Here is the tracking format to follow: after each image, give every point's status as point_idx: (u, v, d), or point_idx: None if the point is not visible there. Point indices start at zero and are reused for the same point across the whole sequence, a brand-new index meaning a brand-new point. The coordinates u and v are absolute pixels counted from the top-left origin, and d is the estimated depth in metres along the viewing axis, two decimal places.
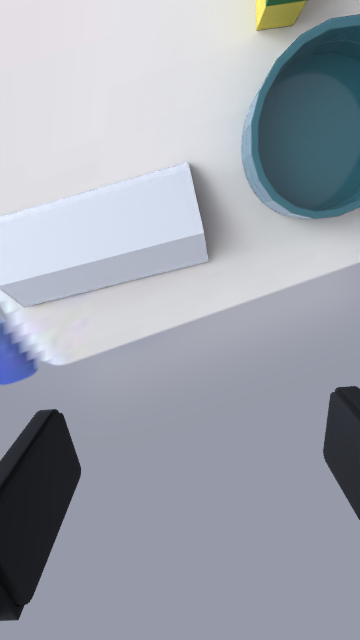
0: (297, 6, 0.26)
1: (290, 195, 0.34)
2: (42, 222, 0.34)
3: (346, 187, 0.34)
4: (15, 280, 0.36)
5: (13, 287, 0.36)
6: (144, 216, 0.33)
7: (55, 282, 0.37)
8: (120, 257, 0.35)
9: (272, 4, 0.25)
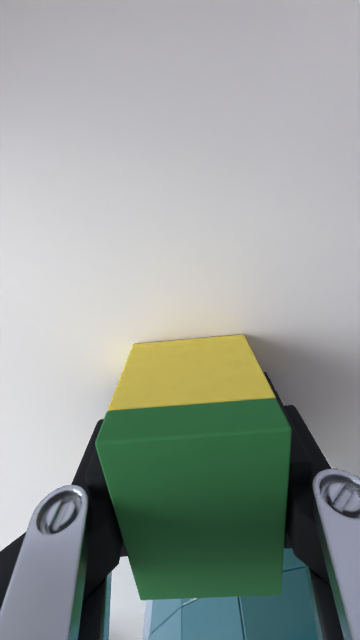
0: None
1: None
2: None
3: None
4: None
5: None
6: None
7: None
8: None
9: None
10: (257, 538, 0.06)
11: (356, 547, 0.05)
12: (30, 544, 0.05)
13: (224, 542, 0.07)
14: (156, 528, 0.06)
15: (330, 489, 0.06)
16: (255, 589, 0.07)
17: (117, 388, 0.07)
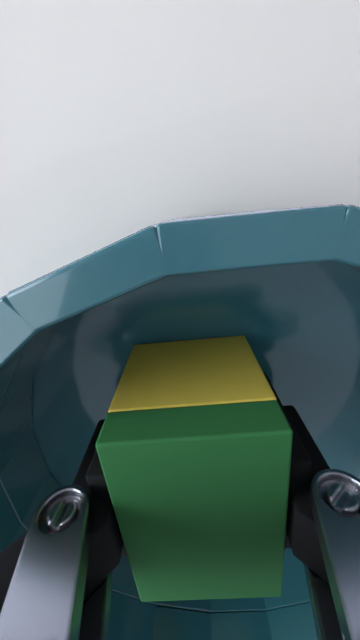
0: None
1: None
2: None
3: None
4: None
5: None
6: None
7: None
8: None
9: None
10: (258, 540, 0.06)
11: (354, 546, 0.05)
12: (31, 543, 0.05)
13: (224, 544, 0.06)
14: (156, 530, 0.06)
15: (329, 489, 0.06)
16: (255, 591, 0.07)
17: (117, 389, 0.07)
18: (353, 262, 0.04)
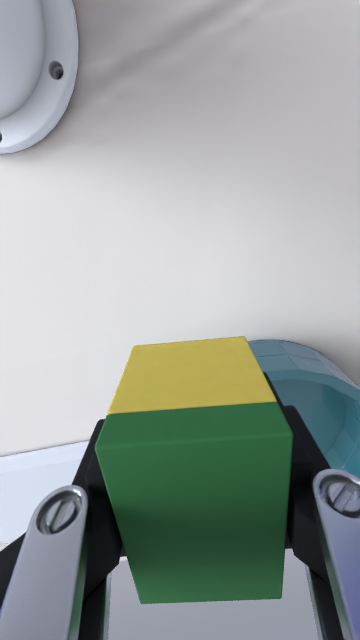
0: None
1: None
2: None
3: None
4: None
5: None
6: None
7: None
8: None
9: None
10: (258, 542, 0.06)
11: (356, 547, 0.05)
12: (30, 544, 0.05)
13: (224, 546, 0.06)
14: (156, 532, 0.06)
15: (330, 489, 0.06)
16: (255, 593, 0.07)
17: (117, 391, 0.07)
18: (300, 379, 0.19)
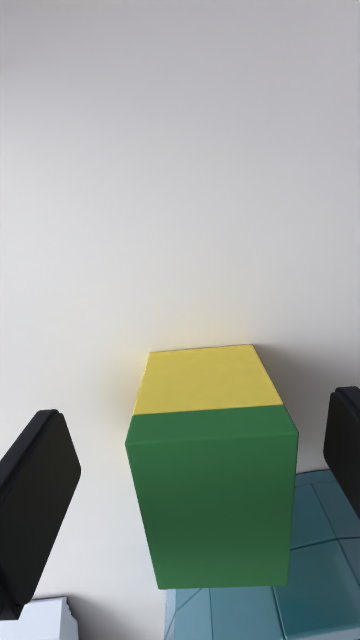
0: None
1: None
2: None
3: None
4: None
5: None
6: None
7: None
8: None
9: None
10: (266, 531, 0.07)
11: None
12: None
13: (236, 535, 0.07)
14: (175, 521, 0.07)
15: None
16: (264, 580, 0.08)
17: (139, 394, 0.08)
18: None
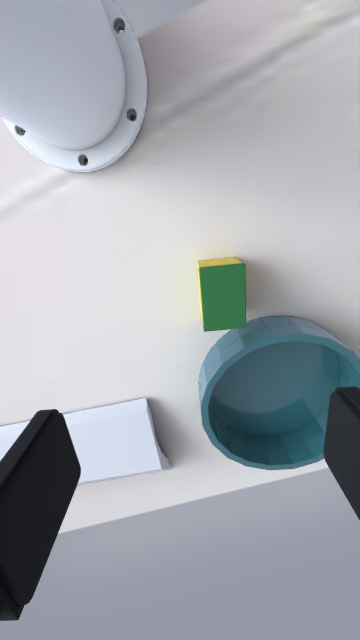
0: None
1: (249, 424, 0.34)
2: (2, 448, 0.34)
3: (304, 419, 0.34)
4: None
5: None
6: (102, 450, 0.33)
7: None
8: None
9: None
10: (238, 302, 0.24)
11: None
12: None
13: (229, 304, 0.24)
14: (211, 298, 0.24)
15: None
16: (238, 324, 0.25)
17: (199, 265, 0.25)
18: (304, 341, 0.25)
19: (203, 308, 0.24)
